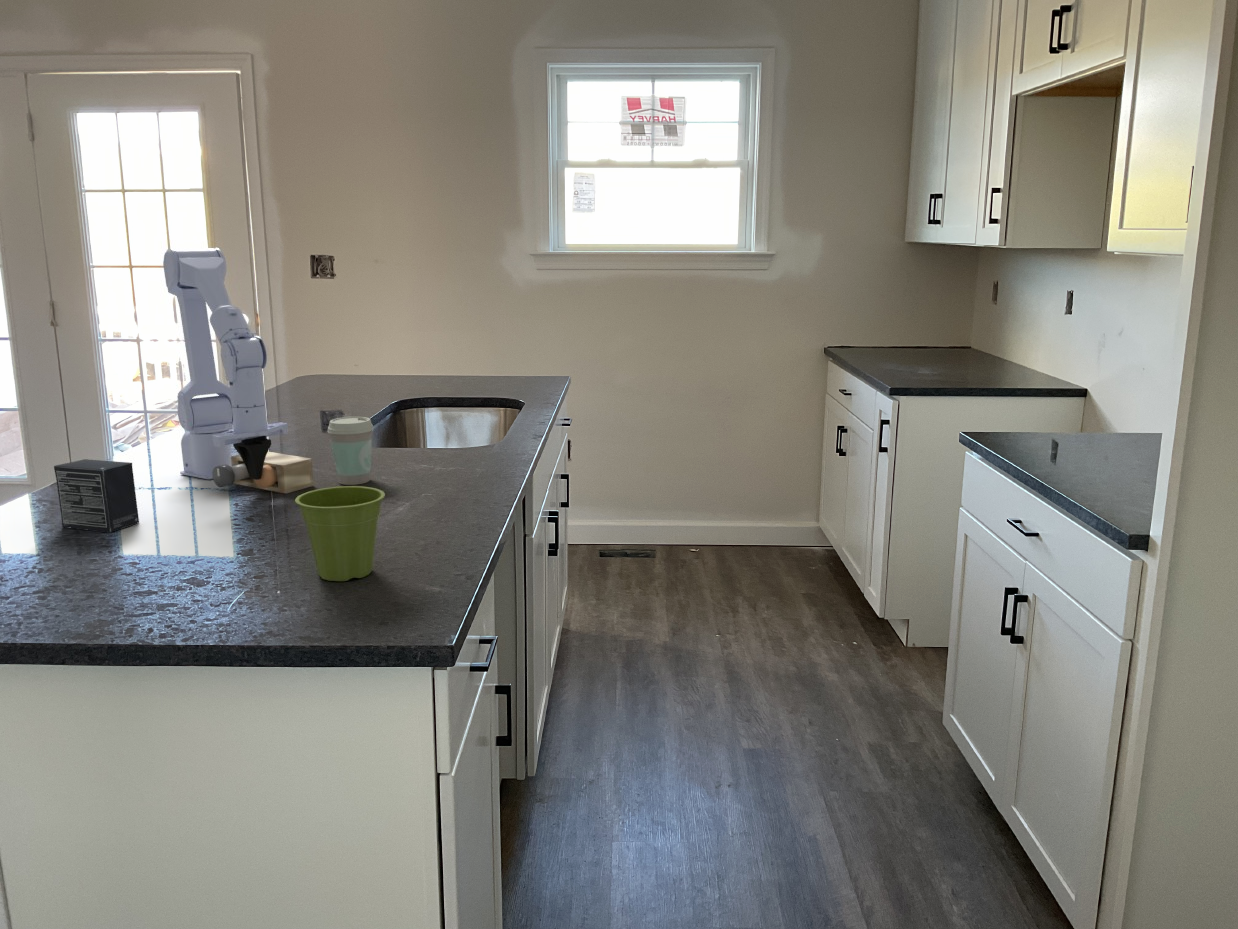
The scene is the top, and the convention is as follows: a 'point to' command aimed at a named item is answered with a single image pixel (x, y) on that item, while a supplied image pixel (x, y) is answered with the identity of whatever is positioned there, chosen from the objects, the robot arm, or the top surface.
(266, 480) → the orange knob
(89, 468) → the small box
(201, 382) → the robot arm
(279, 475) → the mount
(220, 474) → the charcoal knob
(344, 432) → the coffee cup
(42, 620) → the top surface
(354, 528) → the plant pot
